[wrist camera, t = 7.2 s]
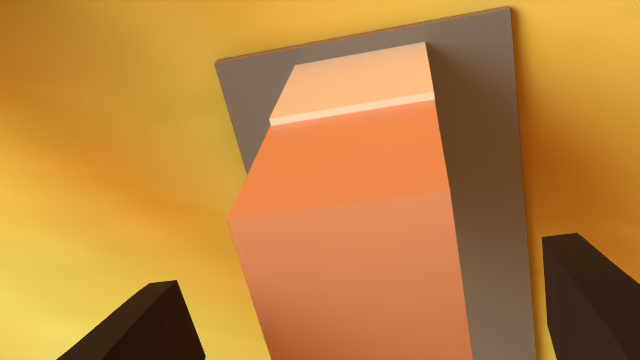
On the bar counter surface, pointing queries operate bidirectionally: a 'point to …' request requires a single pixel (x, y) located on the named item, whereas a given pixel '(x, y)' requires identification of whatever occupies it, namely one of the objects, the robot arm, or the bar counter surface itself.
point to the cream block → (355, 84)
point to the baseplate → (458, 147)
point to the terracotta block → (353, 239)
